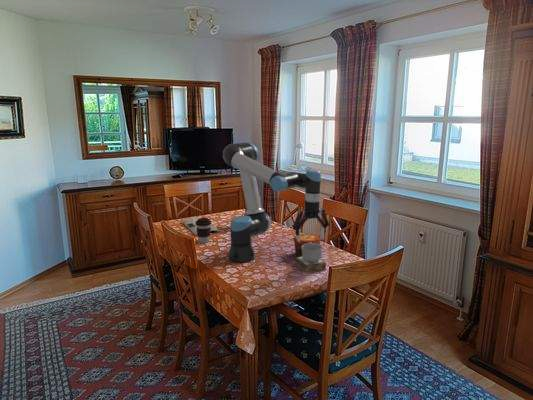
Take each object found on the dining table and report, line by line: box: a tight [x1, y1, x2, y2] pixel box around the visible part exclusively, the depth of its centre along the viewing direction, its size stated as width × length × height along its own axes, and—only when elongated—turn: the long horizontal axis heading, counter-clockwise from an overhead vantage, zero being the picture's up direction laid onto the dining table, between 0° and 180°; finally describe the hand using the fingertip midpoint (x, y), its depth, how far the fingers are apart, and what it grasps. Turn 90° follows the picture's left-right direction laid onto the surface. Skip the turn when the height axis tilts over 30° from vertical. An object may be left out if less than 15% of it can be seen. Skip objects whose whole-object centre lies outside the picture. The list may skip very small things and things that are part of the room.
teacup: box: [301, 242, 323, 262], centre depth 195 cm, size 14×11×8 cm
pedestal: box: [295, 256, 327, 274], centre depth 196 cm, size 12×12×4 cm
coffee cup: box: [195, 217, 212, 244], centre depth 235 cm, size 10×10×15 cm
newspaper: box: [181, 217, 221, 237], centre depth 268 cm, size 37×19×3 cm, turn 27°
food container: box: [292, 233, 322, 257], centre depth 213 cm, size 16×16×11 cm
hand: (310, 240), depth 194 cm, fingers open, 13 cm apart
